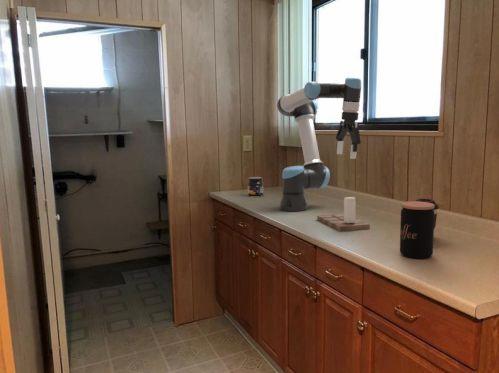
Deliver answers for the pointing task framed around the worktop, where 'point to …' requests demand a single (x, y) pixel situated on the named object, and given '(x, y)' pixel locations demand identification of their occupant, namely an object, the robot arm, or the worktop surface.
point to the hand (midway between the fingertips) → (346, 156)
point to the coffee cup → (433, 209)
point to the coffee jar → (417, 229)
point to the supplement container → (255, 186)
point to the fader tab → (349, 209)
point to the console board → (342, 222)
